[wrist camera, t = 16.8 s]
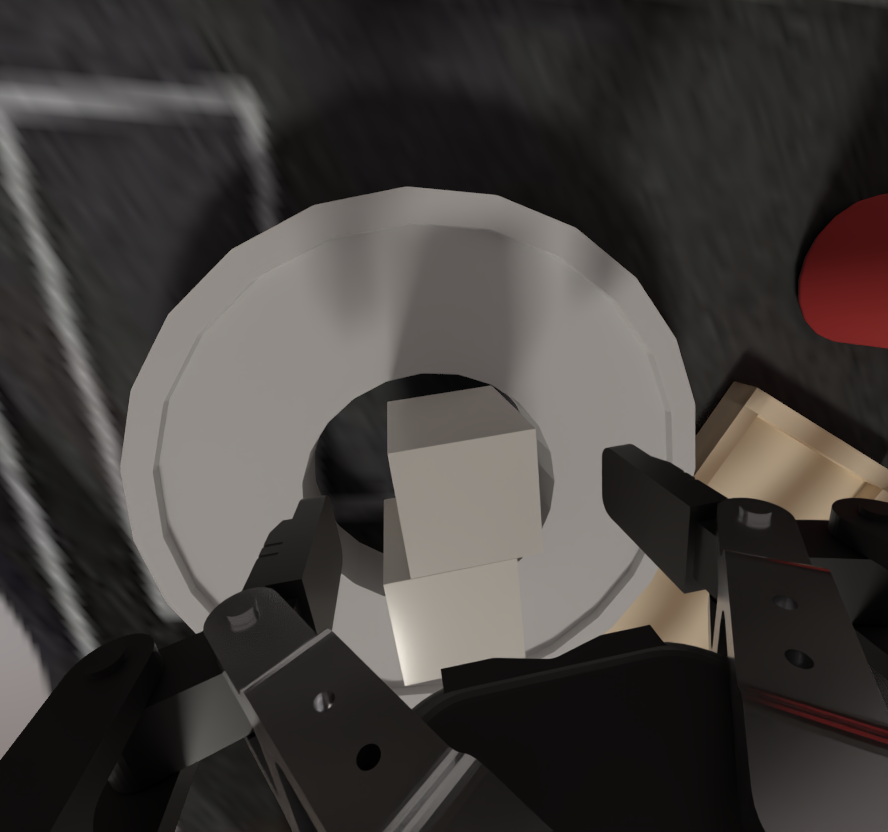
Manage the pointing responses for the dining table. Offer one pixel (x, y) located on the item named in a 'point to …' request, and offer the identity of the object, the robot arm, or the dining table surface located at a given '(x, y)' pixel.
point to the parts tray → (757, 490)
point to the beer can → (849, 276)
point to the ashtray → (388, 358)
